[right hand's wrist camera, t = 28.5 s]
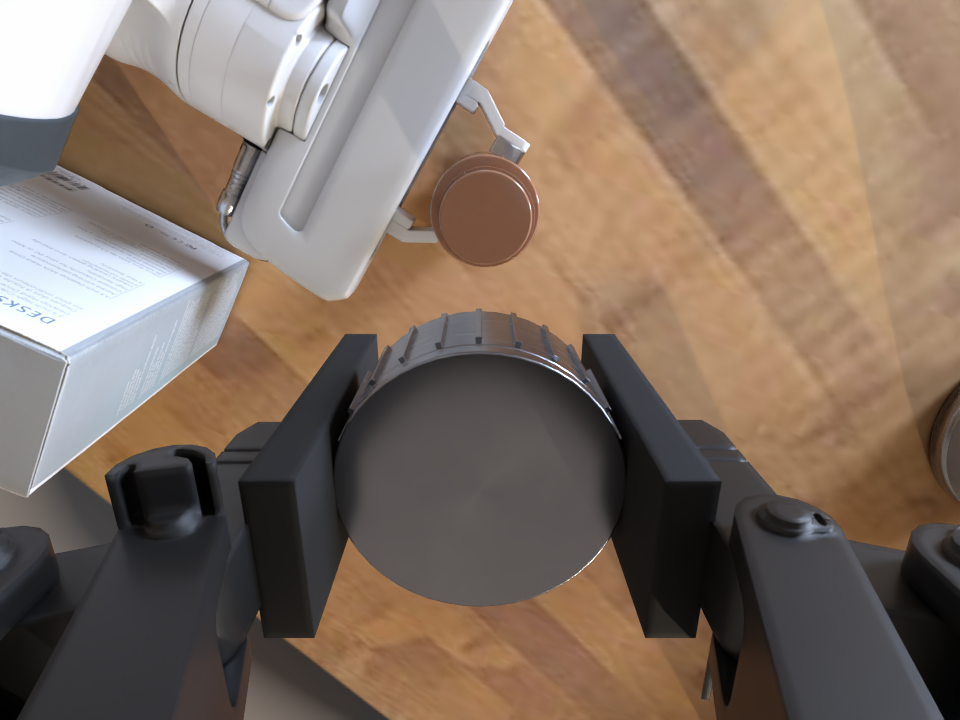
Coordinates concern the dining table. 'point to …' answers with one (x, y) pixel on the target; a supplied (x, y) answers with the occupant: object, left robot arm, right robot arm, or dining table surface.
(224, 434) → the dining table surface
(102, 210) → the hard drive box
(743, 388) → the dining table surface
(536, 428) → the lid
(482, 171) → the tan long rounded cylinder
